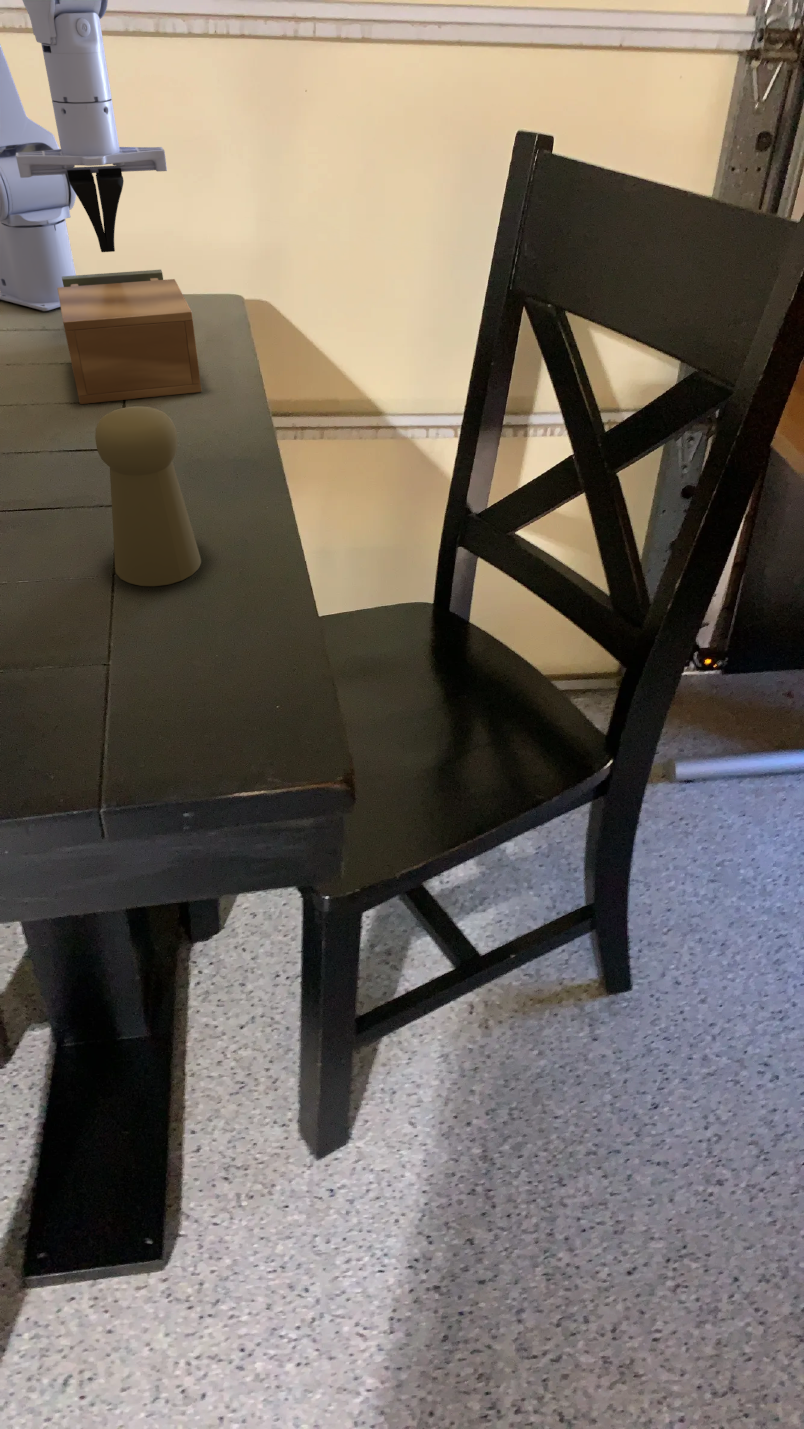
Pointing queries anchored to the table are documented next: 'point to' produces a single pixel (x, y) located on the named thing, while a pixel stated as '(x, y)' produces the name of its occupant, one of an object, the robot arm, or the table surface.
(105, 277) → the drawer
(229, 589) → the table surface
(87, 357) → the cabinet
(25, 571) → the table surface
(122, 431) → the tan pawn
